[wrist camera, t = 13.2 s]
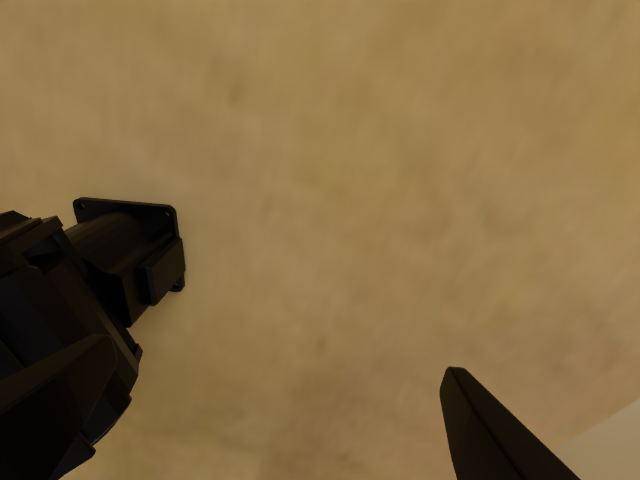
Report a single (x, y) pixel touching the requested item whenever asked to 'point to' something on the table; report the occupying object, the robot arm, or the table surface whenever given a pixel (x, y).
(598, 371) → the table surface
